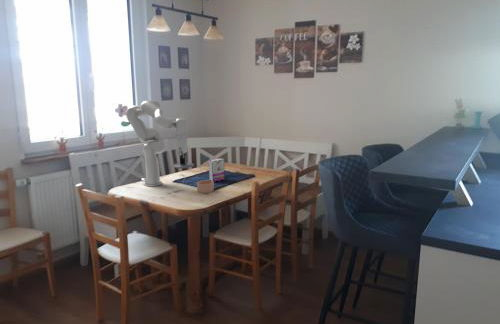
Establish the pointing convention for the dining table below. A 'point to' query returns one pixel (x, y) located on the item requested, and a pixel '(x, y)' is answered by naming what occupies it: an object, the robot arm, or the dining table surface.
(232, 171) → the dining table surface
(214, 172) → the candy bar box
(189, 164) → the lid
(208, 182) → the bowl
